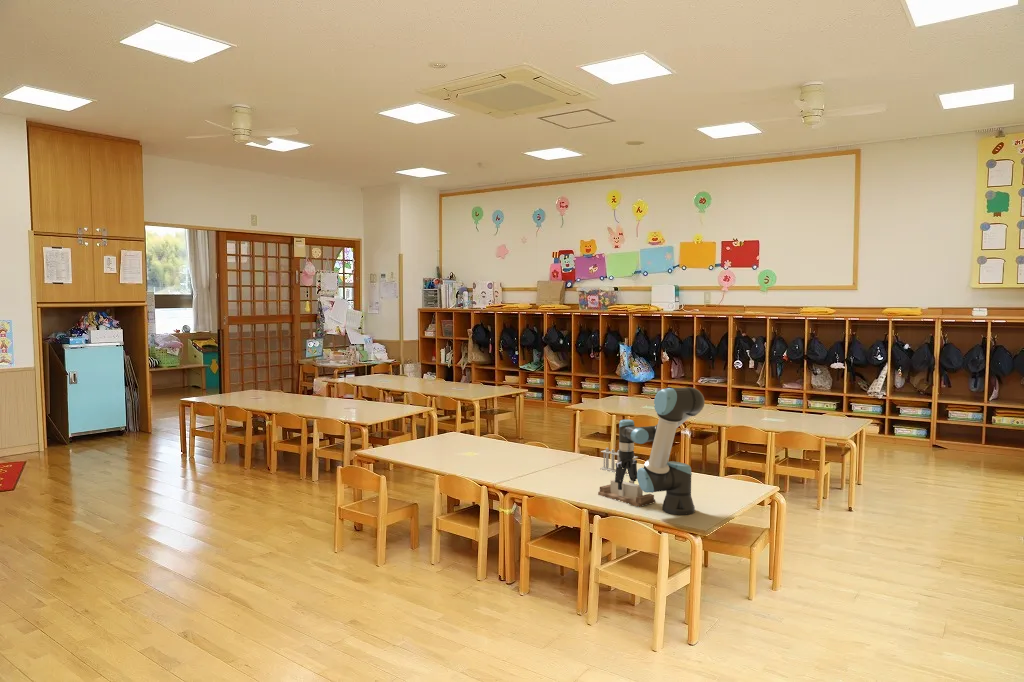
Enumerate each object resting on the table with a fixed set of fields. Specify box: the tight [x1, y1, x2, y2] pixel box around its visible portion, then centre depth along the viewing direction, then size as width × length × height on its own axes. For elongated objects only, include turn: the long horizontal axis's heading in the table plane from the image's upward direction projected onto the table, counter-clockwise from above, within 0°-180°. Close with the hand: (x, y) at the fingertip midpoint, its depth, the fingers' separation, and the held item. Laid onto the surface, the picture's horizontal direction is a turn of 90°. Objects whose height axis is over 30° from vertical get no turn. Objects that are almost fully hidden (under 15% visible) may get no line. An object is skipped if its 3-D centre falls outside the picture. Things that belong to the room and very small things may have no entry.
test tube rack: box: [599, 447, 639, 474], centre depth 417 cm, size 25×4×13 cm, turn 43°
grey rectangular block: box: [610, 478, 644, 500], centre depth 361 cm, size 18×4×6 cm, turn 39°
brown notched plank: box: [597, 483, 656, 508], centre depth 362 cm, size 28×12×4 cm, turn 38°
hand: (626, 494), depth 362 cm, fingers open, 7 cm apart
